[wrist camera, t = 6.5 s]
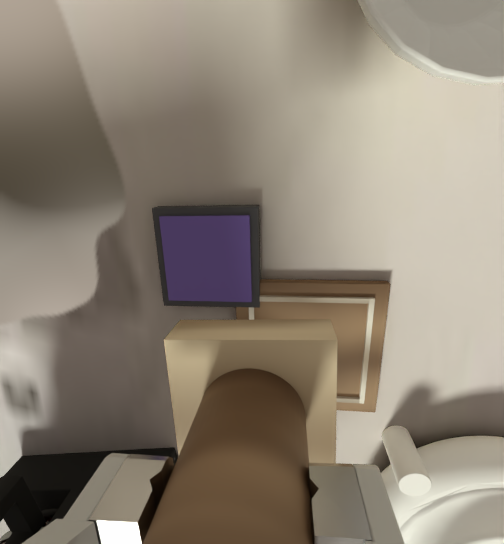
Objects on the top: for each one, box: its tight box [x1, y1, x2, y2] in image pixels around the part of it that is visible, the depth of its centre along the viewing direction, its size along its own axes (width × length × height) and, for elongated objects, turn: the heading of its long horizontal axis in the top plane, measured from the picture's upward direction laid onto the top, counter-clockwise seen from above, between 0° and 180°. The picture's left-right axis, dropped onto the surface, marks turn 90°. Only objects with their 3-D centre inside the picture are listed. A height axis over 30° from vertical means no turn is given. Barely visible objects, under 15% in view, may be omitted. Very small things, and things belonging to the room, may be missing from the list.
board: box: [236, 279, 390, 412], centre depth 27 cm, size 12×12×1 cm
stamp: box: [143, 319, 338, 544], centre depth 7 cm, size 5×5×9 cm
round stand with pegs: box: [381, 426, 504, 544], centre depth 28 cm, size 24×24×7 cm
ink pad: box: [152, 205, 260, 308], centre depth 25 cm, size 8×8×2 cm
